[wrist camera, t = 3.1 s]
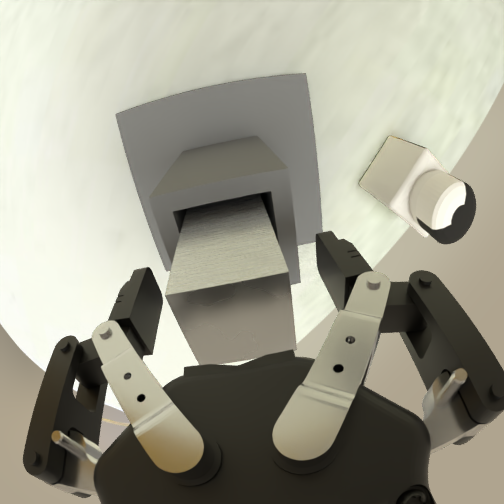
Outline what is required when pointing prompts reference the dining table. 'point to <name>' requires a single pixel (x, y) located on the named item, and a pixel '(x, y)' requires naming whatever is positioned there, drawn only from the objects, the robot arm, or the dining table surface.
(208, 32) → the dining table surface
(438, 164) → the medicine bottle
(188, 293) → the steel column
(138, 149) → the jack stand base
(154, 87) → the dining table surface
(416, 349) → the robot arm
